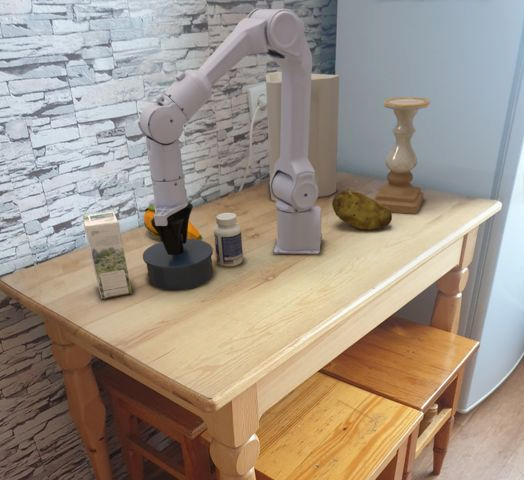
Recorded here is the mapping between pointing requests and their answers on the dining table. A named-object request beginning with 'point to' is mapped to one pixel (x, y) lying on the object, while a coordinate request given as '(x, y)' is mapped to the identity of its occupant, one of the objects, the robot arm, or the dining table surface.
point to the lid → (187, 256)
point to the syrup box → (107, 254)
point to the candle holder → (402, 159)
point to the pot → (181, 276)
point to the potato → (361, 210)
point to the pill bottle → (228, 240)
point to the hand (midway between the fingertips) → (177, 248)
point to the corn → (148, 216)
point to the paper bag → (320, 127)
